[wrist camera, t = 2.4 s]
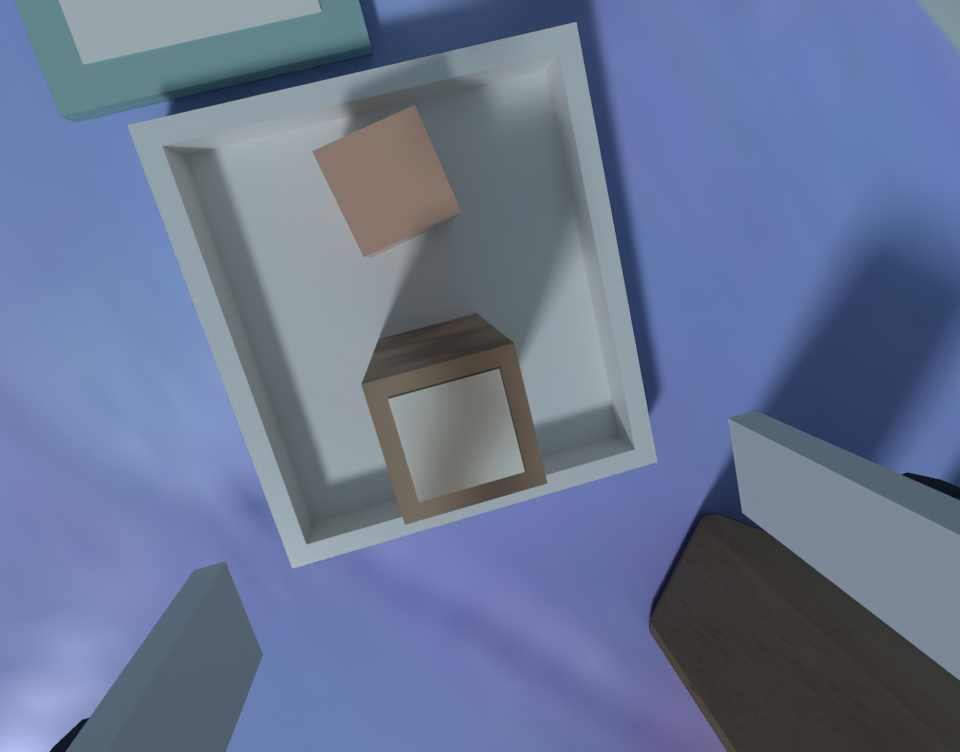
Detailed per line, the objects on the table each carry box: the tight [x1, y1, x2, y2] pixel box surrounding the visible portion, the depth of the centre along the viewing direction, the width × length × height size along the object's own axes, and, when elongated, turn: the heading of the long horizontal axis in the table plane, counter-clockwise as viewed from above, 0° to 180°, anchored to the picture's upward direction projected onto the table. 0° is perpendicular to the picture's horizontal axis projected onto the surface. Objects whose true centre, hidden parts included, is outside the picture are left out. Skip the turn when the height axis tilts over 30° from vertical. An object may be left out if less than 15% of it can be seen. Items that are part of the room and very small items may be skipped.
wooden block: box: [649, 514, 960, 752], centre depth 30 cm, size 10×10×20 cm
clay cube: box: [312, 105, 461, 257], centre depth 28 cm, size 5×5×6 cm
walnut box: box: [361, 313, 548, 525], centre depth 27 cm, size 6×6×12 cm
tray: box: [127, 22, 657, 569], centre depth 31 cm, size 22×24×4 cm
